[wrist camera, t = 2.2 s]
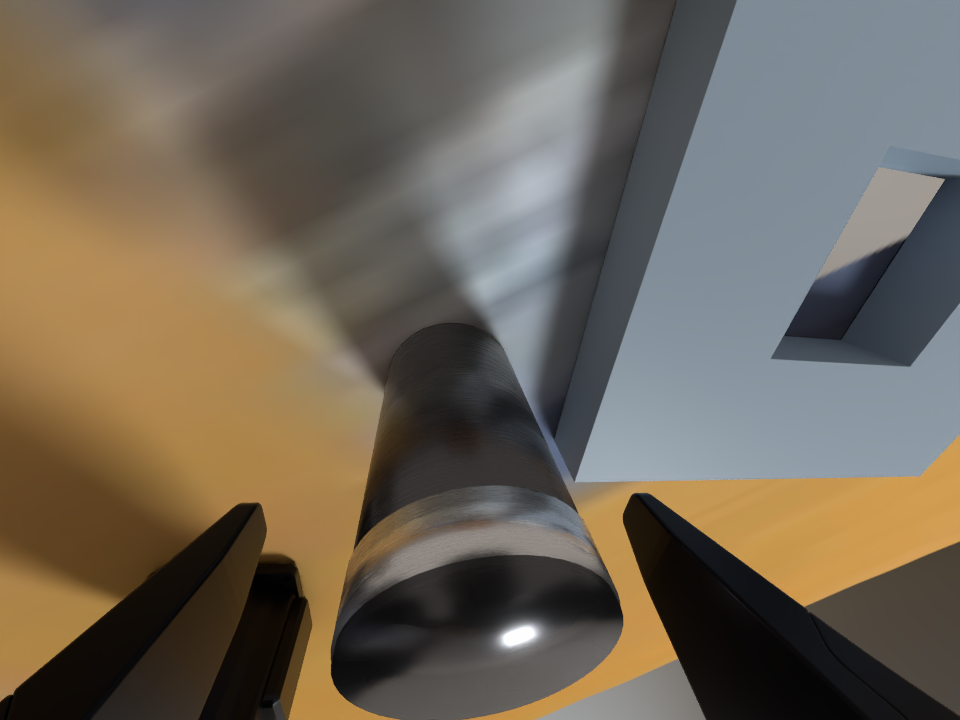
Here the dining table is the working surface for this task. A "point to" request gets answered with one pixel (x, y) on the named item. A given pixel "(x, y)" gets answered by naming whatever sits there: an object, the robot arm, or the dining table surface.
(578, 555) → the lens
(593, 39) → the dining table surface
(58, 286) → the dining table surface
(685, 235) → the mount block
